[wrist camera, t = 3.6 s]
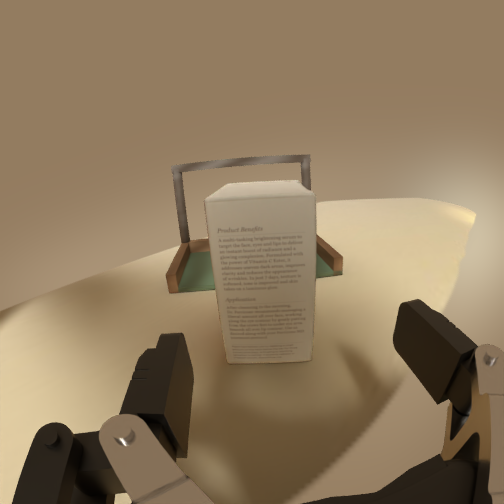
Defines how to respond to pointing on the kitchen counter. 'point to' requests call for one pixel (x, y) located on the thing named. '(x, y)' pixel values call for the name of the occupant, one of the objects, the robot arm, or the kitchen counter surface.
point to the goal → (198, 251)
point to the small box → (264, 269)
